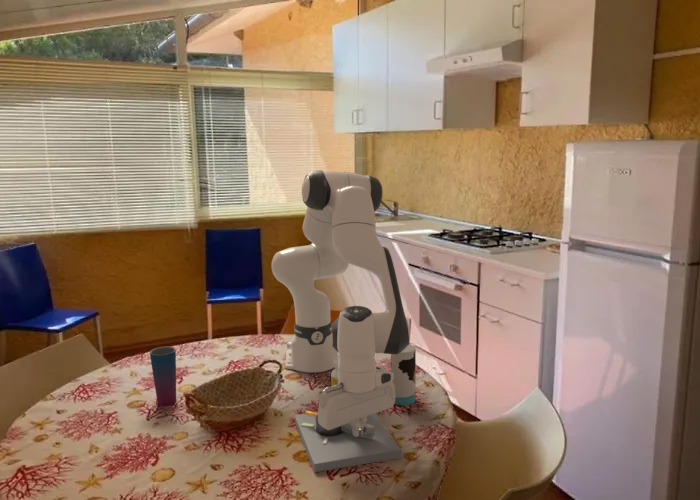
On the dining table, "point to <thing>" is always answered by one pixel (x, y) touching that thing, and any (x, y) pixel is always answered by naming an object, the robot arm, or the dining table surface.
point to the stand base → (345, 445)
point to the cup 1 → (164, 374)
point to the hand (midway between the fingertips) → (357, 435)
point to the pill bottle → (335, 373)
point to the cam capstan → (341, 428)
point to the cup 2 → (404, 375)
